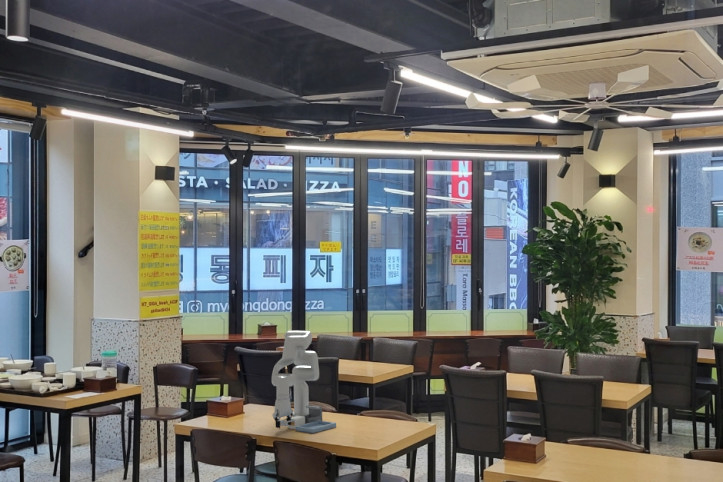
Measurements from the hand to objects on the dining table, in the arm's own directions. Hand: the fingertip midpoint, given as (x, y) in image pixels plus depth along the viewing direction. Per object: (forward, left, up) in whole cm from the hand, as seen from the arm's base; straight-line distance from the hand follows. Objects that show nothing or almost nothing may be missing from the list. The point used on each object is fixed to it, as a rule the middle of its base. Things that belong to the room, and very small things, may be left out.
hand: (283, 426), depth 474 cm
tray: (-15, +13, -3) cm, 20 cm away
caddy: (-8, 0, -3) cm, 8 cm away
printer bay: (-24, 0, -3) cm, 24 cm away
